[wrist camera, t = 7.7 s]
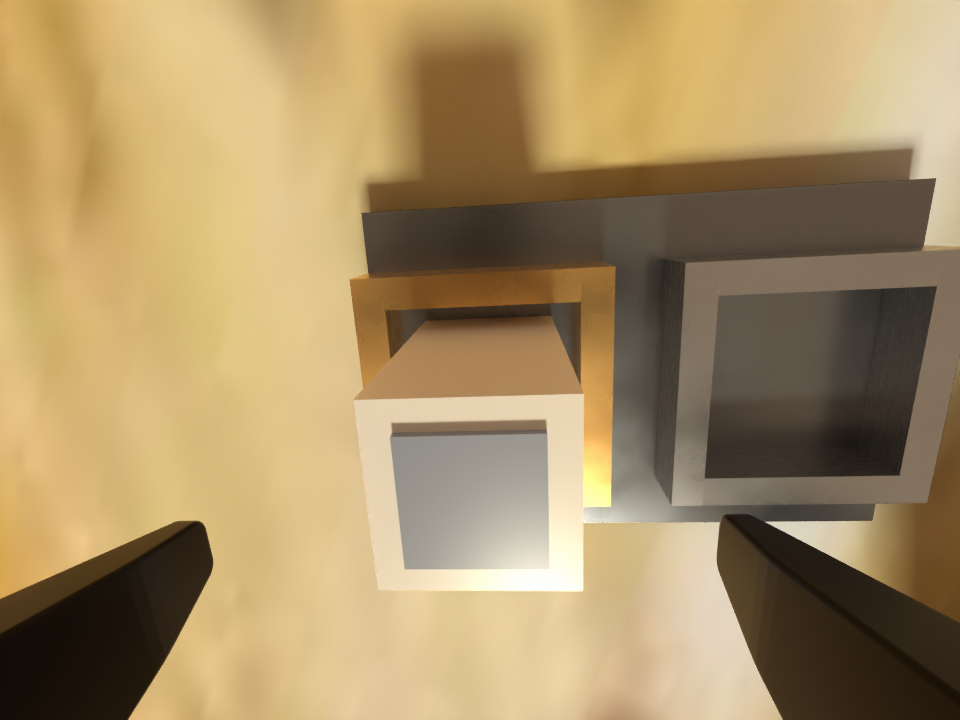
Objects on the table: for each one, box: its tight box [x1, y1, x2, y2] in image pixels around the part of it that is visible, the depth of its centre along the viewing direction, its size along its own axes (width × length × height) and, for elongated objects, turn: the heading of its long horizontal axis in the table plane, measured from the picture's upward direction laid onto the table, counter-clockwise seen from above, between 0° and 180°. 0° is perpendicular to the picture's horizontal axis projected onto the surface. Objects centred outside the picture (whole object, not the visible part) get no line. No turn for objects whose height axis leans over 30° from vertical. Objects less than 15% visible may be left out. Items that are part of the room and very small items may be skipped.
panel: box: [350, 178, 960, 523], centre depth 17 cm, size 18×12×3 cm, turn 93°
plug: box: [353, 316, 584, 591], centre depth 13 cm, size 4×4×8 cm
